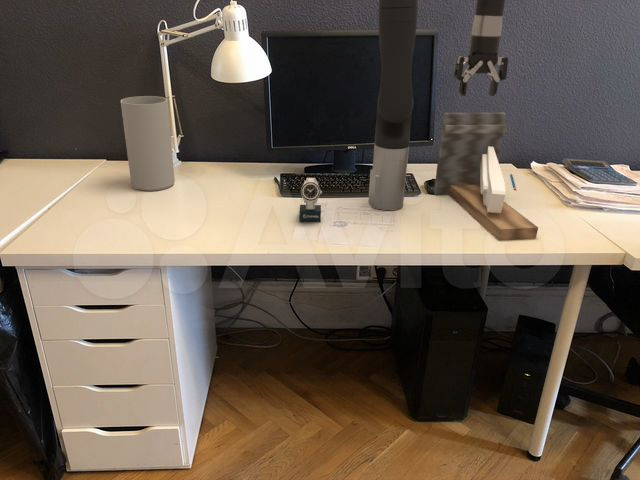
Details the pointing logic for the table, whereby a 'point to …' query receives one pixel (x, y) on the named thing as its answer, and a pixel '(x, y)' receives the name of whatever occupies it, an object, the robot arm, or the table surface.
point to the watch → (310, 202)
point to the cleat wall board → (476, 171)
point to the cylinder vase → (148, 142)
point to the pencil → (513, 182)
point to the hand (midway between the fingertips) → (477, 95)
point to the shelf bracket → (491, 182)
